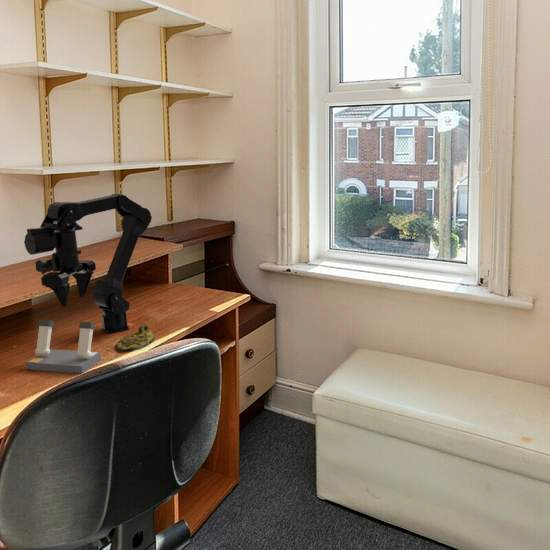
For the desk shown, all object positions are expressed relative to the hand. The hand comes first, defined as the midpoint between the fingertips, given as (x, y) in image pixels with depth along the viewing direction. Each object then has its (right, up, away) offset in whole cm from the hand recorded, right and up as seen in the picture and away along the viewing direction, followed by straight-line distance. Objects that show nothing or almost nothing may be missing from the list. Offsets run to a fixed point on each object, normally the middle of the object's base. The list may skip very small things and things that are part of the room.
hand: (73, 301), depth 158 cm
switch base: (+2, -16, -13) cm, 21 cm away
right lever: (+8, -13, -15) cm, 21 cm away
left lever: (-4, -12, -13) cm, 18 cm away
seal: (+17, -12, +1) cm, 21 cm away
